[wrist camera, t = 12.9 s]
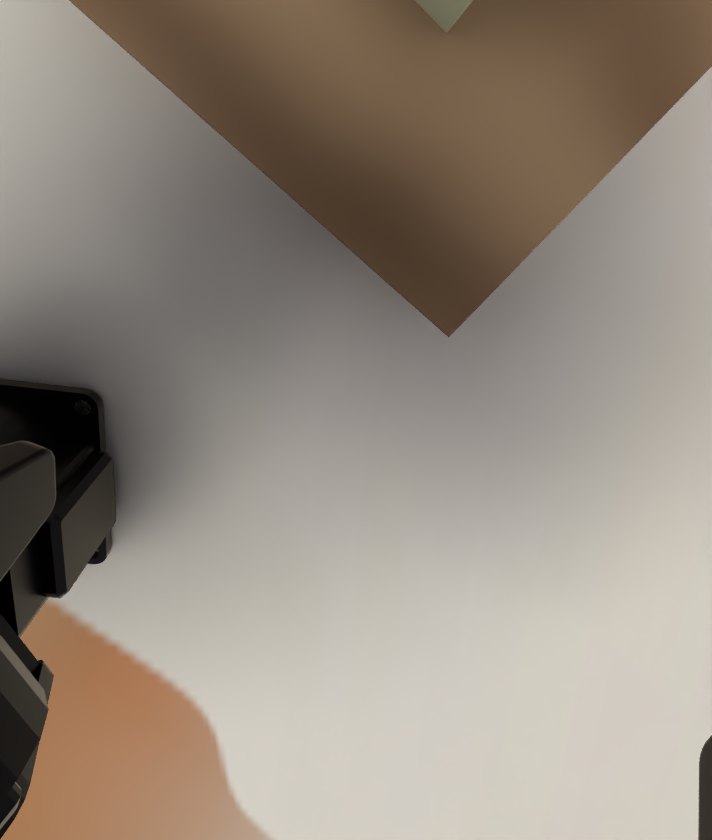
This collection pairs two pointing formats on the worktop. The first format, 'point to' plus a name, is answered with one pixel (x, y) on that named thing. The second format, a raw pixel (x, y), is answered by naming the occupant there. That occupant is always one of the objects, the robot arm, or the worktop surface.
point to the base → (425, 114)
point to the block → (444, 11)
